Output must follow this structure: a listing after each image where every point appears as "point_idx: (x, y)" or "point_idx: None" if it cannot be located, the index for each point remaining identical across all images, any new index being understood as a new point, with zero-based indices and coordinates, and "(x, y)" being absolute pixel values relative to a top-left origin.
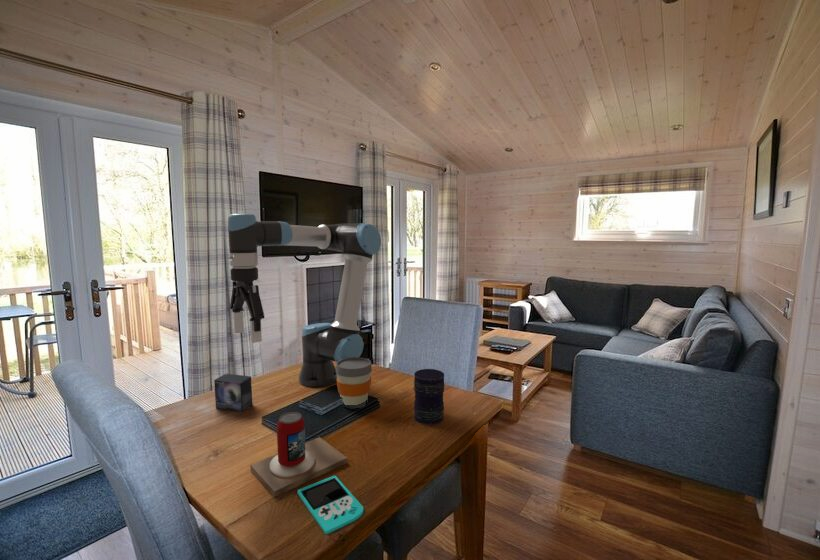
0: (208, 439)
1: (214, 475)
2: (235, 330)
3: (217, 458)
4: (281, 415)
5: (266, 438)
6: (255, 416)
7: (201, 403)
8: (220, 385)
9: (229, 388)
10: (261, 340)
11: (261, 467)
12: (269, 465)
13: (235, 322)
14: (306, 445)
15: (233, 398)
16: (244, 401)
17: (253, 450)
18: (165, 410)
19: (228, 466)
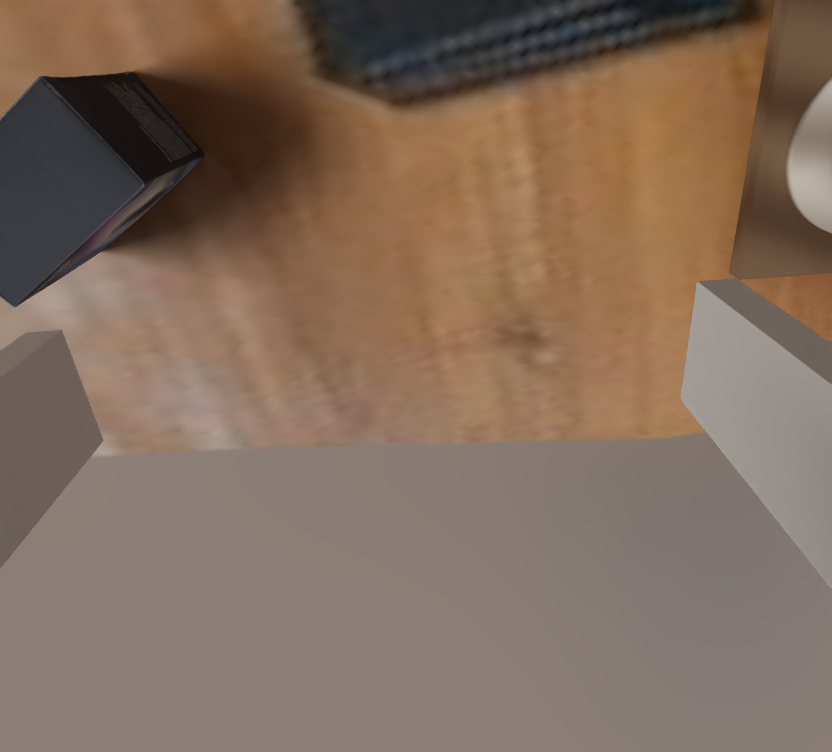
0: (399, 340)
1: (658, 372)
2: (81, 460)
3: (563, 343)
4: None
5: (554, 141)
6: (296, 109)
7: None
8: (63, 272)
9: (112, 230)
10: (738, 285)
11: (790, 252)
12: (804, 223)
13: (5, 539)
14: (812, 18)
15: (153, 201)
16: (170, 138)
17: (608, 222)
18: None
19: (643, 326)
